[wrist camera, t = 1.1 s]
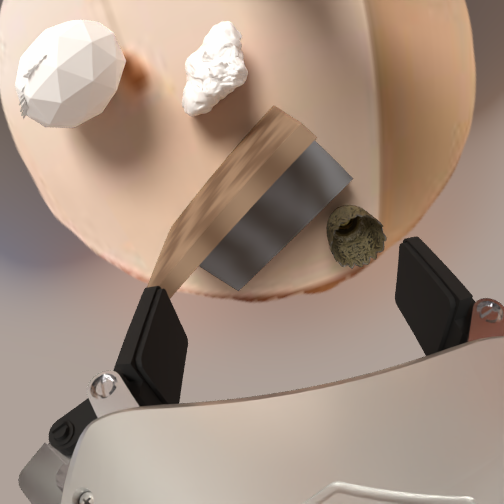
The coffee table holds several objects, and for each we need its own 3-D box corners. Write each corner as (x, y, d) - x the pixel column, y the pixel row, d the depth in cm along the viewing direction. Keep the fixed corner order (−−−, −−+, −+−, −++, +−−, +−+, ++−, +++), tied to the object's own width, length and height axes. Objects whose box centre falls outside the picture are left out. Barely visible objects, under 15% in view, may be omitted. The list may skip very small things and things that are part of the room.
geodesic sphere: (88, 170, 31) (60, 120, 19) (12, 135, 28) (-31, 85, 15) (145, 80, 34) (151, 11, 21) (70, 54, 30) (56, -10, 17)
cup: (309, 204, 41) (323, 231, 35) (356, 184, 40) (379, 207, 33) (326, 245, 45) (340, 277, 38) (369, 227, 43) (390, 255, 37)
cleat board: (273, 105, 34) (301, 123, 19) (342, 168, 39) (403, 229, 23) (171, 227, 42) (137, 313, 27) (238, 272, 47) (238, 367, 32)
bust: (202, 112, 36) (254, 142, 30) (151, 102, 31) (193, 129, 25) (236, 32, 31) (298, 42, 24) (186, 12, 25) (243, 10, 19)
